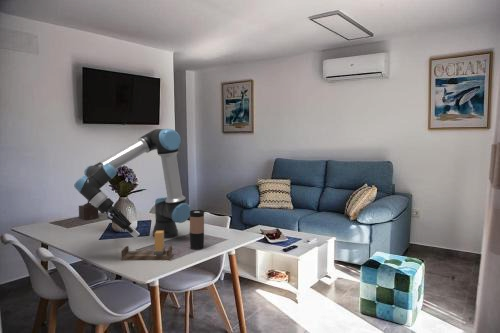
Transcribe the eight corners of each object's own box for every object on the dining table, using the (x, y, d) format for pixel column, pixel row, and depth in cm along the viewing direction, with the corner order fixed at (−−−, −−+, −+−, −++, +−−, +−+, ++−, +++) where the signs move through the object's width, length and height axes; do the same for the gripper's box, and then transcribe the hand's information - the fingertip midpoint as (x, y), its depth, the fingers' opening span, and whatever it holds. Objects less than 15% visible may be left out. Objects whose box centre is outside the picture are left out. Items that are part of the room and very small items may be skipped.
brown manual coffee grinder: (85, 220, 258) (84, 195, 257) (78, 218, 266) (77, 193, 264) (106, 217, 270) (105, 193, 268) (99, 215, 277) (98, 191, 276)
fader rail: (121, 260, 176) (121, 251, 175) (126, 254, 184) (126, 246, 183) (169, 259, 177) (169, 250, 177) (172, 254, 185) (172, 245, 185)
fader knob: (153, 254, 177) (153, 233, 177) (156, 250, 183) (156, 230, 183) (162, 254, 178) (162, 233, 177) (165, 250, 184) (164, 230, 183)
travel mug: (190, 245, 201) (190, 209, 199) (204, 245, 201) (204, 209, 200) (189, 249, 193) (189, 212, 191) (203, 249, 194) (203, 212, 192)
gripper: (101, 205, 184) (135, 237, 186) (91, 210, 171) (128, 245, 173) (112, 195, 183) (146, 227, 186) (103, 199, 171) (139, 234, 173)
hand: (137, 236), depth 179 cm, fingers closed
